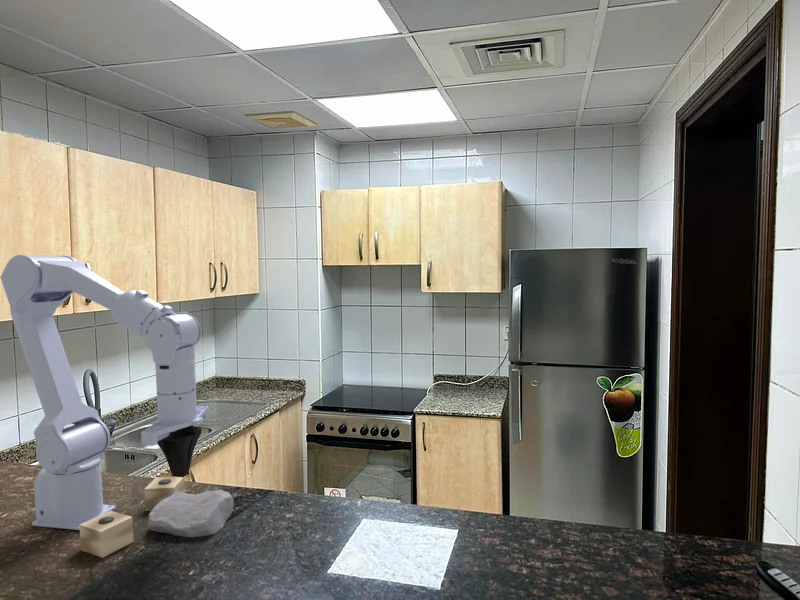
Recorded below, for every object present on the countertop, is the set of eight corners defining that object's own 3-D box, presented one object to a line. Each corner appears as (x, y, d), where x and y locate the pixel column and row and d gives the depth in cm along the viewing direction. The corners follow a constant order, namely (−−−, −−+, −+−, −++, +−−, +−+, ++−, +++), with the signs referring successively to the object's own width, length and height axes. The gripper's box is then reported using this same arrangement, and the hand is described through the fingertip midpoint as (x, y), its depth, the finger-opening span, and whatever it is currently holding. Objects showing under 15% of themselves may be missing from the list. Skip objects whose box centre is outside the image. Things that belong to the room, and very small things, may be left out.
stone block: (216, 549, 82) (238, 508, 92) (211, 522, 81) (234, 483, 91) (141, 551, 83) (171, 509, 93) (135, 524, 82) (166, 485, 91)
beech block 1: (81, 551, 79) (79, 523, 79) (112, 535, 84) (111, 509, 83) (102, 558, 77) (100, 530, 77) (133, 542, 81) (132, 515, 81)
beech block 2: (145, 511, 92) (144, 487, 91) (157, 498, 97) (156, 476, 96) (175, 510, 92) (174, 486, 92) (185, 497, 97) (184, 475, 97)
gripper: (169, 403, 76) (174, 496, 77) (224, 381, 90) (227, 460, 91) (126, 401, 77) (131, 493, 78) (187, 380, 92) (190, 457, 92)
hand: (180, 475), depth 85 cm, fingers closed
